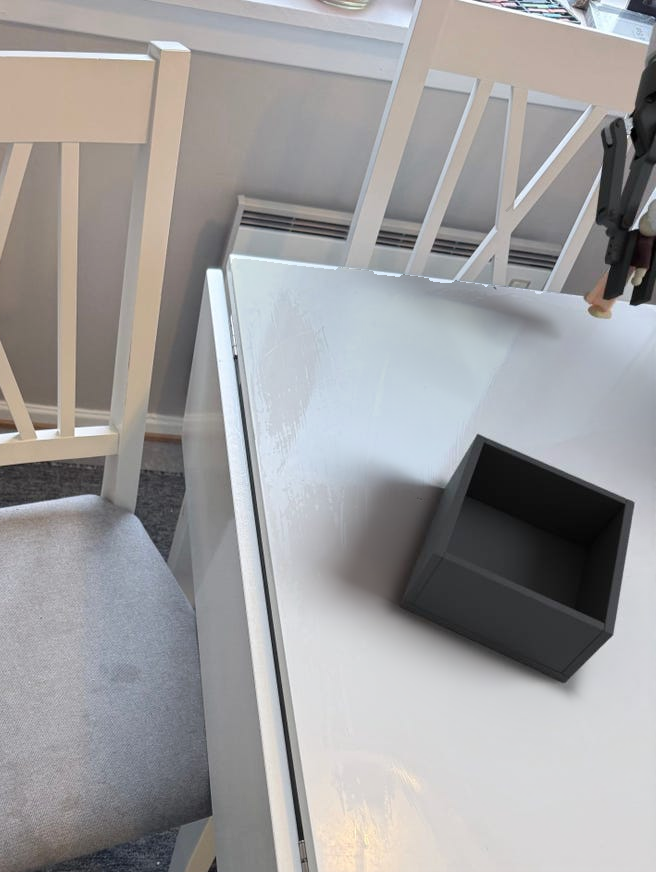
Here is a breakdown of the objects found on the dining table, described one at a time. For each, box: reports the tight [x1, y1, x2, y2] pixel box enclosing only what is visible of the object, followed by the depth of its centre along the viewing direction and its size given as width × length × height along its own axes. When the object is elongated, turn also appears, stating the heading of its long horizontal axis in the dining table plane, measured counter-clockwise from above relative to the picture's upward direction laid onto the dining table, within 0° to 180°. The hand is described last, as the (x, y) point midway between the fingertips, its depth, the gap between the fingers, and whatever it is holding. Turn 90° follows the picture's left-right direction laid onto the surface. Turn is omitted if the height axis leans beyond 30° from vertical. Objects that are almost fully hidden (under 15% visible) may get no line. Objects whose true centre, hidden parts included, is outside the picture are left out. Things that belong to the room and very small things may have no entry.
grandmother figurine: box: [582, 198, 656, 320], centre depth 94 cm, size 8×4×13 cm, turn 5°
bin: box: [399, 433, 636, 683], centre depth 73 cm, size 15×17×7 cm
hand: (626, 299), depth 94 cm, fingers closed on grandmother figurine, 2 cm apart
